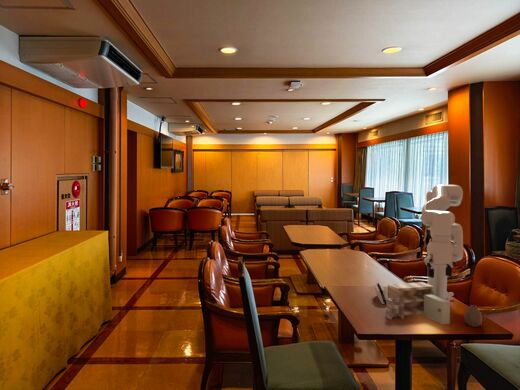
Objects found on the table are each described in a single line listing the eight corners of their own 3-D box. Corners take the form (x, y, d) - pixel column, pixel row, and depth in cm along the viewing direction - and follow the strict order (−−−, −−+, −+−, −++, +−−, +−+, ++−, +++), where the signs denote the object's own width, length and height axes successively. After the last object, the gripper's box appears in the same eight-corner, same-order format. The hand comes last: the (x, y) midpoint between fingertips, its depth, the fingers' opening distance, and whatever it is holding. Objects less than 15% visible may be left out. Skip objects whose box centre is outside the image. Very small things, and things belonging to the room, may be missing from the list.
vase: (481, 329, 165) (482, 309, 164) (463, 326, 168) (464, 306, 168) (482, 324, 170) (482, 305, 170) (464, 321, 174) (465, 302, 174)
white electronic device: (392, 305, 196) (385, 286, 196) (383, 307, 196) (376, 289, 197) (386, 296, 212) (380, 278, 212) (378, 298, 213) (372, 281, 213)
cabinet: (421, 307, 193) (422, 282, 192) (437, 315, 182) (438, 288, 181) (376, 311, 185) (376, 284, 185) (390, 319, 174) (391, 291, 174)
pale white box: (430, 314, 182) (431, 294, 182) (449, 323, 171) (450, 301, 170) (421, 315, 181) (422, 294, 181) (440, 324, 169) (441, 302, 169)
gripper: (450, 237, 179) (449, 274, 180) (419, 238, 175) (418, 275, 175) (463, 240, 172) (461, 277, 173) (431, 240, 167) (429, 279, 168)
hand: (439, 276), depth 174 cm, fingers open, 9 cm apart
